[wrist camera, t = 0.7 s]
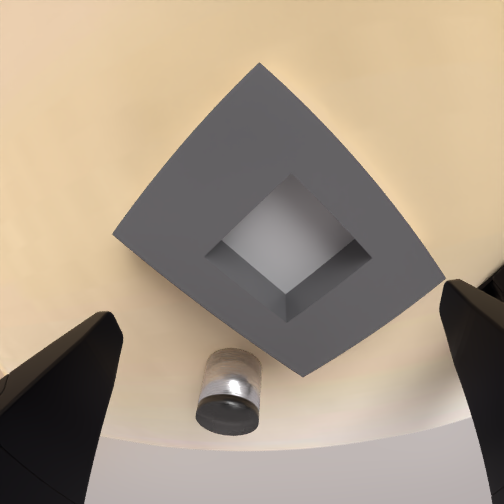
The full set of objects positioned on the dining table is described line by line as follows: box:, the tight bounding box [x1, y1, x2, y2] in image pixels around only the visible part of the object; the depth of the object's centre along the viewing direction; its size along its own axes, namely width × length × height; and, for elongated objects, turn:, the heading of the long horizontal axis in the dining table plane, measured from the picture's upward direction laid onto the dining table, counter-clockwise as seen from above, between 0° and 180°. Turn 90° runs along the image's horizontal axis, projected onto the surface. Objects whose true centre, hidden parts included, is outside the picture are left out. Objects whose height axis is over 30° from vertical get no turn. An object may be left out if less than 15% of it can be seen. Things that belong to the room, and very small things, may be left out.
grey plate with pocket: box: [112, 63, 446, 377], centre depth 19 cm, size 16×12×4 cm
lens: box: [196, 348, 262, 436], centre depth 26 cm, size 5×5×6 cm
